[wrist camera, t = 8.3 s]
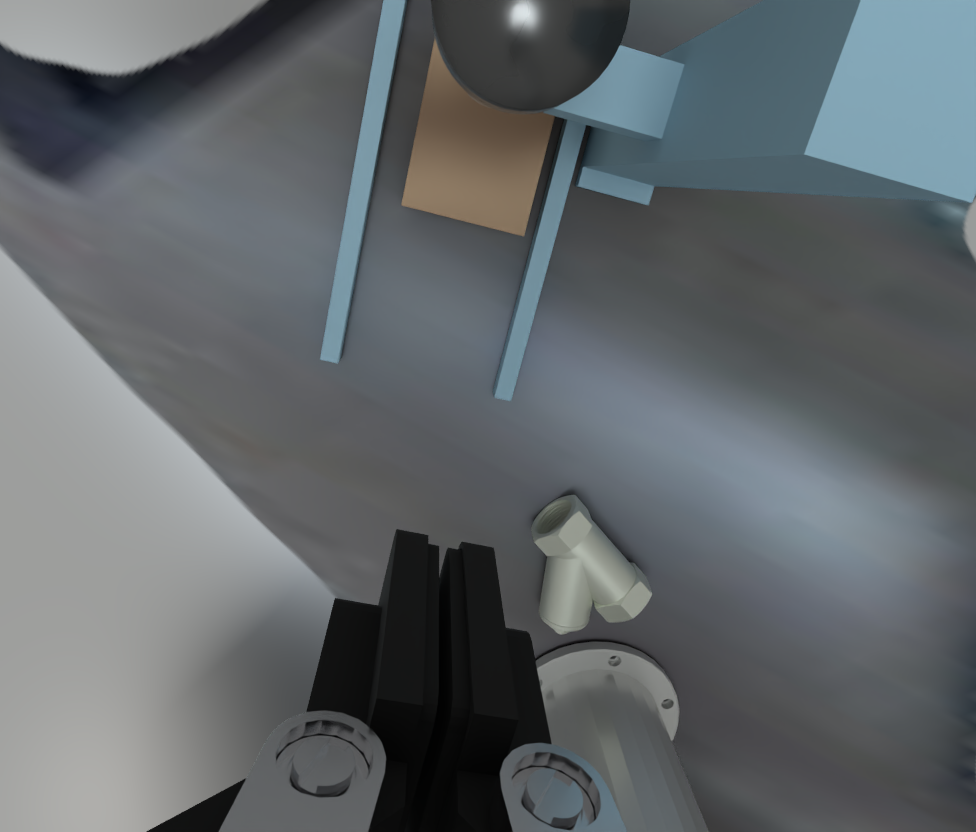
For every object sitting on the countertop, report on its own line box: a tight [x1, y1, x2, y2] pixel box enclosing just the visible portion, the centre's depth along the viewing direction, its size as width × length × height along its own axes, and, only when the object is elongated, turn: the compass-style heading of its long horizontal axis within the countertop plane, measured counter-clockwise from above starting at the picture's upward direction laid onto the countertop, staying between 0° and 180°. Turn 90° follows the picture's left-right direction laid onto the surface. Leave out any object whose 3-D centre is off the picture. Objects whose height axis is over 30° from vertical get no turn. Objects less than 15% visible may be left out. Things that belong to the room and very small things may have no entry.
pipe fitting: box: [531, 495, 652, 634], centre depth 43 cm, size 8×4×7 cm
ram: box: [431, 0, 630, 115], centre depth 20 cm, size 5×5×10 cm
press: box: [320, 0, 976, 401], centre depth 26 cm, size 21×16×24 cm
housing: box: [401, 39, 555, 236], centre depth 33 cm, size 8×6×6 cm
